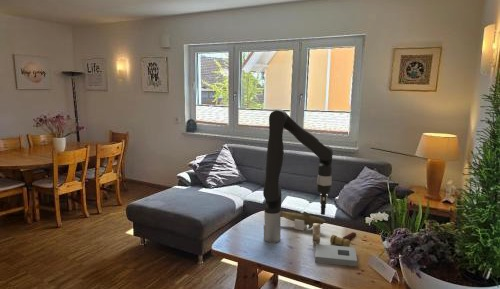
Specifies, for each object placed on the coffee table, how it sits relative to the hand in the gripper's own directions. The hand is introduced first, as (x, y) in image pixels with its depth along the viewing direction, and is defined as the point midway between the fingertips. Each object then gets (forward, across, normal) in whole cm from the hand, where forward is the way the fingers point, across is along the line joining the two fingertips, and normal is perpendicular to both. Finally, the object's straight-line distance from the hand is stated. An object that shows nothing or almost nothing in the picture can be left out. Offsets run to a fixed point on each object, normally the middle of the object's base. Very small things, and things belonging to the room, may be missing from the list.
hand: (322, 211), depth 176 cm
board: (+19, +13, +7) cm, 24 cm away
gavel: (+20, -10, +14) cm, 26 cm away
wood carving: (+20, -22, -15) cm, 33 cm away
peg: (+20, 0, -3) cm, 20 cm away
